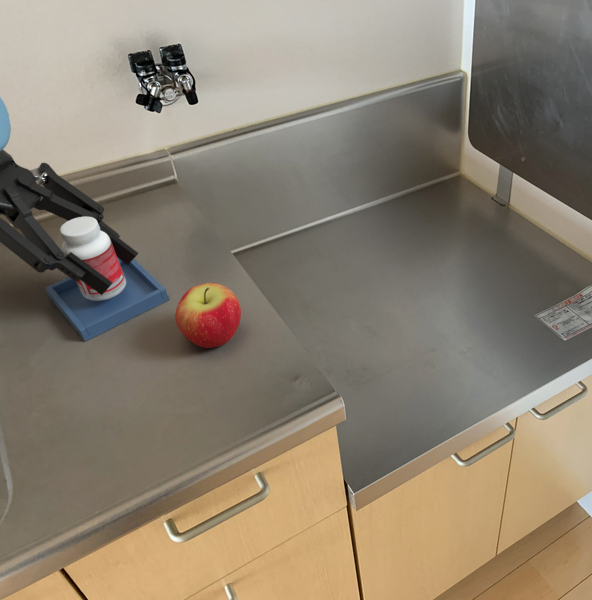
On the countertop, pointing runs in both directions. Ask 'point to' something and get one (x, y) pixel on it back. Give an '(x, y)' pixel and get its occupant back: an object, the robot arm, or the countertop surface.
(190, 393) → the countertop surface
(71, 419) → the countertop surface
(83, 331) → the medicine tray
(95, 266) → the pill bottle
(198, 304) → the apple
